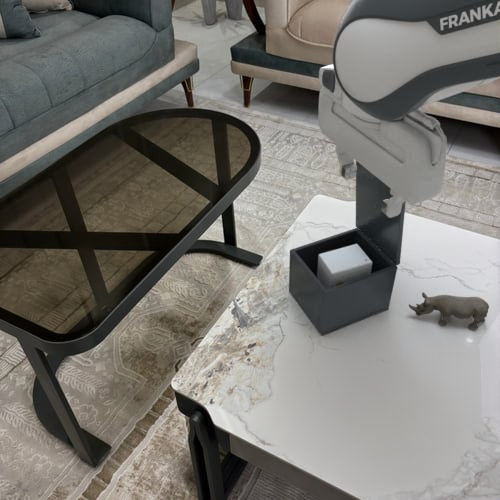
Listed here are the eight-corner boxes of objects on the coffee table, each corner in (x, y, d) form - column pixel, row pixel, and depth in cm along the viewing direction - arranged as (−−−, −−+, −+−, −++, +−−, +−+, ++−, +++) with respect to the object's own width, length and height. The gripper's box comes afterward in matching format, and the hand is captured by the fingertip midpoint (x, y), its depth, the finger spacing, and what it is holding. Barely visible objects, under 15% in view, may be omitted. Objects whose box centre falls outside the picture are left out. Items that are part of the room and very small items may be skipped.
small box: (352, 284, 97) (358, 242, 90) (366, 303, 93) (373, 261, 86) (314, 294, 95) (317, 253, 88) (327, 315, 91) (332, 273, 84)
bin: (321, 336, 89) (325, 293, 82) (288, 291, 97) (289, 249, 90) (388, 309, 93) (397, 267, 86) (351, 269, 101) (357, 227, 95)
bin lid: (402, 195, 75) (428, 184, 76) (355, 158, 84) (379, 148, 85) (396, 265, 85) (419, 255, 87) (355, 226, 94) (376, 217, 95)
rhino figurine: (405, 307, 93) (411, 284, 89) (483, 315, 91) (492, 292, 87) (406, 323, 90) (412, 300, 86) (487, 333, 88) (496, 309, 84)
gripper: (474, 120, 48) (443, 232, 57) (355, 55, 63) (345, 153, 72) (421, 135, 46) (398, 248, 55) (311, 64, 61) (307, 163, 70)
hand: (367, 194), depth 64 cm, fingers open, 8 cm apart
